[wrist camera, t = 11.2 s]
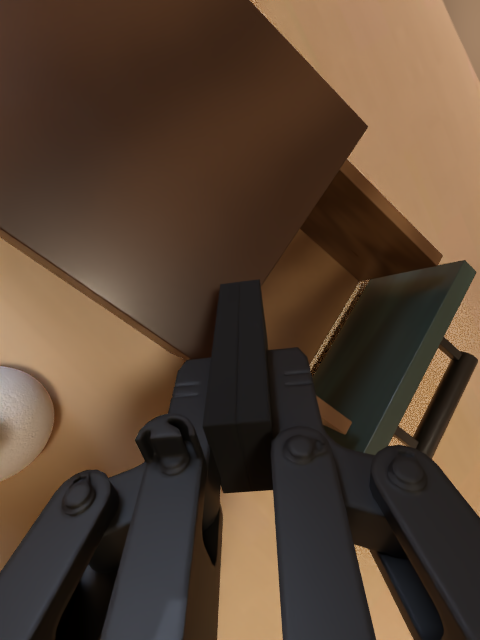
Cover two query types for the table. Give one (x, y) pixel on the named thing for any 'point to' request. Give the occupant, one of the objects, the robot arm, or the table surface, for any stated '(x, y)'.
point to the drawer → (369, 316)
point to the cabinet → (160, 152)
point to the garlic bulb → (22, 420)
